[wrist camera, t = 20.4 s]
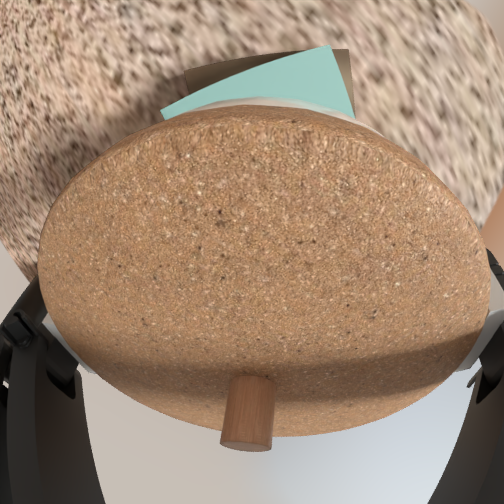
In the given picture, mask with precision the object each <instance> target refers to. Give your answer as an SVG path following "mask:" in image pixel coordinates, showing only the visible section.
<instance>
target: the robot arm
mask: <svg viewBox="0 0 504 504" xmlns="http://www.w3.org/2000/svg"><path fill="white" fill-rule="evenodd" d="M486 252H487V256H488V261H489V266H490V271H491V287H490V302H489V307H488V311H487V315H486V319H485V322H484V326H483V329H482V332H481V333H480V335H479V337H478V339H477V341H476V343H475V345H474V346H473V348H472V350H471V351H470V353H469V354H468V355H467V357H466V358H465V360H464V361H463V362H462V363H461V365H460V366H459V367H458V368H457V369H456V370H455V371H454V372H458V371H462V370H465V369H469V368H471V367H472V365H473V364H474V363H475V362H476V360H477V359H478V358H479V359H480V362H481V365H482V367H481V368H480V369H479V370H478V372H477V373H476V374H475V375H474V376H473V377H472V379H471V380H470V381H469V383H468V385H467V387H468V388H469V387H471V385H472V384H473V383H474V382H475V385H474V388H473V392H472V396H471V400H470V404H469V407H468V410H467V413H466V417H465V420H464V423H463V425H462V428H461V431H460V434H459V437H458V439H457V442H456V445H455V447H454V450H453V452H452V454H451V457H450V459H449V462H448V464H447V466H446V468H445V471H444V473H443V475H442V477H441V479H440V481H439V483H438V485H437V487H436V489H435V491H434V493H433V495H432V496H431V498H430V500H429V502H428V504H504V271H503V269H502V268H501V266H499V265H498V262H497V260H496V259H495V257H494V256H493V254H492V253H491V252H490V251H489V250H488V249H487V248H486ZM0 332H1V333H2V334H3V335H4V336H5V337H6V338H7V339H8V340H9V342H10V343H9V342H8V341H7V340H6V339H5V338H4V337H3V336H2V335H0V504H105V501H104V497H103V494H102V491H101V487H100V483H99V480H98V476H97V472H96V467H95V463H94V459H93V454H92V449H91V445H90V439H89V433H88V427H87V421H86V414H85V407H84V398H83V389H82V378H81V374H80V372H79V371H78V370H77V369H76V368H77V366H78V364H79V363H80V364H81V365H82V366H83V367H84V368H85V369H86V370H87V371H88V372H90V373H94V374H96V373H95V372H94V371H93V370H92V369H91V368H90V367H89V366H88V365H86V364H85V363H84V362H83V361H82V360H81V359H80V358H79V356H78V355H77V354H76V353H75V352H74V351H73V350H72V349H71V348H70V347H69V345H68V344H67V343H66V341H65V340H64V338H63V337H62V335H61V334H60V333H59V331H58V330H57V328H56V326H55V324H54V322H53V321H52V319H51V317H50V315H49V313H48V312H47V313H46V315H45V317H44V318H43V320H42V322H41V323H40V325H39V327H38V328H37V327H36V326H35V325H34V323H33V322H32V321H31V320H30V319H29V317H28V316H27V315H26V314H25V312H24V311H23V310H22V309H17V310H14V311H13V312H12V313H10V314H9V315H8V316H7V317H6V318H5V319H4V321H3V323H2V324H1V327H0ZM4 378H5V379H6V380H7V381H8V382H9V387H8V388H7V387H5V386H4V385H3V381H4Z"/></svg>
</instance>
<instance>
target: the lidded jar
mask: <svg viewBox="0 0 504 504" xmlns="http://www.w3.org/2000/svg"><path fill="white" fill-rule="evenodd" d="M37 269H38V277H39V284H40V289H41V293H42V296H43V299H44V303H45V306H46V309H47V311H48V313H49V315H50V317H51V319H52V321H53V322H54V324H55V326H56V328H57V330H58V331H59V333H60V334H61V335H62V337H63V338H64V340H65V341H66V343H67V344H68V345H69V347H70V348H71V349H72V350H73V351H74V352H75V353H76V354H77V355H78V356H79V358H80V359H81V360H82V361H83V362H84V363H85V364H86V365H88V366H89V367H90V368H91V369H92V370H93V371H94V372H95V373H96V374H98V375H99V376H100V377H101V378H102V379H104V380H105V381H106V382H108V383H109V384H111V385H112V386H113V387H115V388H116V389H118V390H119V391H121V392H123V393H124V394H126V395H127V396H129V397H131V398H132V399H134V400H136V401H137V402H139V403H141V404H143V405H146V406H148V407H150V408H152V409H154V410H156V411H159V412H161V413H163V414H166V415H168V416H170V417H173V418H175V419H178V420H182V421H185V422H188V423H192V424H195V425H198V426H202V427H206V428H210V429H215V430H219V431H222V433H221V439H220V444H221V445H222V446H225V447H227V448H230V449H234V450H240V451H249V452H262V451H268V450H271V446H272V436H273V437H285V436H286V437H287V436H307V435H316V434H324V433H330V432H336V431H341V430H346V429H350V428H353V427H357V426H361V425H364V424H367V423H370V422H373V421H376V420H379V419H382V418H385V417H387V416H389V415H391V414H393V413H395V412H397V411H400V410H401V409H404V408H406V407H407V406H409V405H411V404H413V403H414V402H416V401H418V400H420V399H421V398H422V397H424V396H426V395H427V394H429V393H430V392H431V391H433V390H434V389H435V388H436V387H438V386H439V385H440V384H442V383H443V382H444V381H445V380H446V379H447V378H448V377H449V376H450V375H451V374H452V373H453V372H454V371H455V370H456V369H457V368H458V367H459V366H460V365H461V363H462V362H463V361H464V360H465V358H466V357H467V355H468V354H469V353H470V351H471V350H472V348H473V346H474V345H475V343H476V341H477V339H478V337H479V335H480V333H481V332H482V329H483V326H484V322H485V319H486V315H487V311H488V307H489V302H490V287H491V271H490V266H489V261H488V256H487V252H486V247H485V243H484V241H483V239H482V237H481V235H480V233H479V231H478V229H477V227H476V225H475V223H474V221H473V219H472V218H471V216H470V214H469V212H468V210H467V209H466V208H465V207H464V205H463V204H462V203H461V202H460V201H459V199H458V198H457V197H456V196H455V195H454V194H453V193H452V192H451V191H450V190H449V188H448V187H447V186H446V185H445V184H444V183H443V182H442V181H441V180H440V179H439V178H438V177H437V176H436V175H435V174H434V173H433V172H432V171H431V170H430V169H429V168H428V167H427V166H426V165H425V164H424V163H422V162H421V161H420V160H419V159H418V158H417V157H415V156H414V155H412V154H410V153H409V152H407V151H406V150H404V149H403V148H401V147H399V146H398V145H396V144H394V143H393V142H391V141H389V140H388V139H386V138H385V137H384V136H382V135H381V134H380V133H378V132H377V131H375V130H374V129H373V128H371V127H369V126H367V125H365V124H364V123H362V122H360V121H358V120H356V119H354V118H352V117H350V116H348V115H346V114H344V113H342V112H340V111H338V110H335V109H332V108H328V107H325V106H322V105H318V104H315V103H311V102H307V101H303V100H299V99H292V98H280V97H266V96H253V97H244V98H236V99H228V100H221V101H216V102H213V103H209V104H206V105H203V106H200V107H197V108H194V109H191V110H189V111H186V112H183V113H180V114H178V115H176V116H174V117H172V118H170V119H167V120H165V121H162V122H160V123H157V124H155V125H152V126H150V127H147V128H145V129H143V130H140V131H138V132H136V133H133V134H131V135H129V136H127V137H126V138H124V139H122V140H121V141H119V142H118V143H116V144H115V145H113V146H112V147H111V148H109V149H108V150H107V151H105V152H104V153H103V154H101V155H100V156H99V157H97V158H96V159H95V160H93V161H92V162H91V163H90V164H88V165H87V166H86V167H85V168H83V169H82V170H81V171H80V172H78V173H77V174H76V175H75V176H74V177H73V178H72V179H71V180H70V181H69V183H68V184H67V185H66V187H65V188H64V189H63V191H62V192H61V193H60V195H59V196H58V197H57V199H56V200H55V202H54V203H53V204H52V206H51V208H50V211H49V213H48V216H47V218H46V221H45V223H44V226H43V229H42V231H41V235H40V243H39V251H38V261H37Z"/></svg>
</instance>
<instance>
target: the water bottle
mask: <svg viewBox="0 0 504 504" xmlns="http://www.w3.org/2000/svg"><path fill="white" fill-rule="evenodd" d="M17 309H22V310H23V311H24V312H25V314H26V315H27V316H28V317H29V319H30V320H31V321H32V322H33V323H34V325H35V326H36V327H37V328H38V327H39V325H40V323H41V322H42V320H43V318H44V317H45V315H46V313H47V312H48V311H47V309H46V306H45V303H44V299H43V296H42V293H41V289H40V284H39V277H38V274H37V275H36V277H35V278H34V279H33V280H32V282H31V283H30V284H29V286H28V287H27V288H26V290H25V291H24V292H23V293H22V295H21V296H20V297H19V299H18V300H17V302H16V303H15V304H14V306H13V307H12V309H11V310H10V311H9V313H8V314H7V316H8V315H9V314H10V313H12V312H13V311H14V310H17ZM7 316H6V317H7ZM6 317H5V318H6ZM3 321H4V320H3ZM2 323H3V322H2ZM2 323H1V324H2ZM0 327H1V325H0ZM0 335H2V336H3V337H4V338H5V339H6V340H7V341H8V342H9V340H8V339H7V338H6V337H5V336H4V335H3V334H2V333H1V332H0ZM9 343H10V342H9ZM4 381H5V382H7V383H8V384H9V382H8V381H7V380H6V379H5V378H4Z"/></svg>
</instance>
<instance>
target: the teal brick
mask: <svg viewBox="0 0 504 504" xmlns="http://www.w3.org/2000/svg"><path fill="white" fill-rule="evenodd" d="M253 96H266V97H280V98H292V99H299V100H303V101H307V102H311V103H315V104H318V105H322V106H325V107H328V108H332V109H335V110H338V111H340V112H342V113H344V114H346V115H348V116H350V117H352V118H354V119H355V116H354V112H353V109H352V106H351V103H350V100H349V96H348V93H347V90H346V87H345V84H344V82H343V79H342V76H341V73H340V70H339V67H338V65H337V62H336V59H335V57H334V54H333V52H332V49H331V47H330V45H326V46H322V47H318V48H314V49H311V50H307V51H303V52H300V53H296V54H293V55H290V56H287V57H283V58H280V59H277V60H274V61H271V62H268V63H265V64H262V65H260V66H257V67H254V68H251V69H249V70H246V71H244V72H241V73H238V74H236V75H233V76H231V77H229V78H226V79H224V80H221V81H219V82H217V83H214V84H212V85H210V86H208V87H206V88H203V89H201V90H199V91H197V92H195V93H193V94H191V95H189V96H187V97H185V98H183V99H181V100H179V101H177V102H175V103H173V104H171V105H169V106H167V107H165V108H163V109H162V110H160V111H161V113H162V115H163V117H164V119H165V120H167V119H170V118H172V117H174V116H176V115H178V114H180V113H183V112H186V111H189V110H191V109H194V108H197V107H200V106H203V105H206V104H209V103H213V102H216V101H221V100H228V99H236V98H244V97H253Z"/></svg>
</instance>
